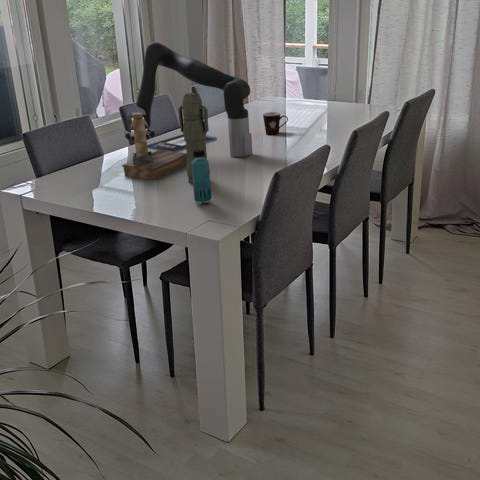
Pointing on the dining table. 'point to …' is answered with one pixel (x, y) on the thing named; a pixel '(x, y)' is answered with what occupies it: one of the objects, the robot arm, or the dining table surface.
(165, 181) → the dining table surface
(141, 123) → the wooden square peg
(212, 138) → the sketchbook
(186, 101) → the thermos
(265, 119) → the coffee mug
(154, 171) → the board with square socket
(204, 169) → the beverage bottle
